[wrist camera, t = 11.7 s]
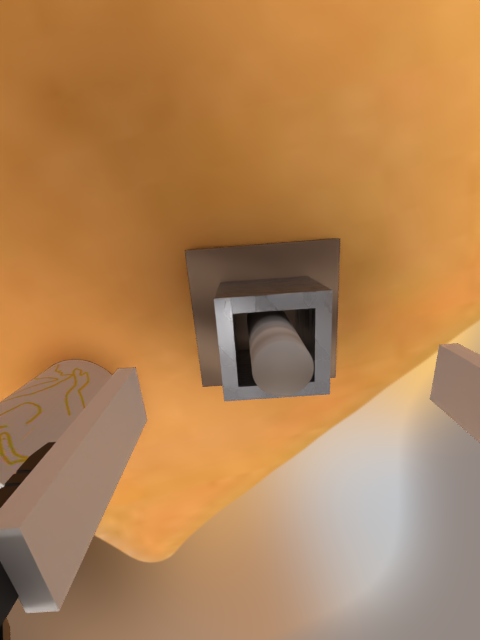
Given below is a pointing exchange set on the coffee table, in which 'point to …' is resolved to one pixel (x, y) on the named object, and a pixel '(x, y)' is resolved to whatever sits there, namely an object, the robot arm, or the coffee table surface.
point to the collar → (273, 296)
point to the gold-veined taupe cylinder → (45, 410)
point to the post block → (262, 327)
